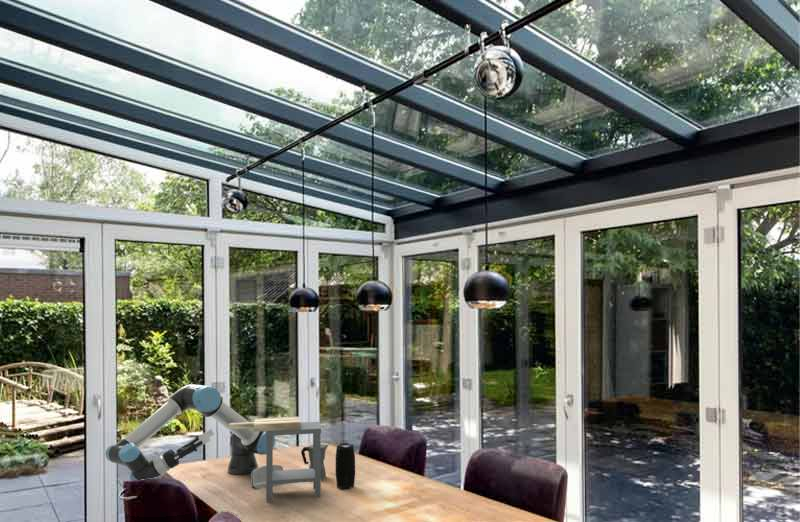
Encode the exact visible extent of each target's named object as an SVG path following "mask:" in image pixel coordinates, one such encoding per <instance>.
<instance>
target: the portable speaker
mask: <svg viewBox="0 0 800 522" xmlns="http://www.w3.org/2000/svg"><path fill="white" fill-rule="evenodd" d="M355 478H356V454H355V449H354V444H353V443H352V444H351V443H347V442H342V443H339V444H338V445H336V452H335V480H336V489H337V488H340V489H341V490H342V491H347V490H350V489H351V488H354V487H355Z"/></svg>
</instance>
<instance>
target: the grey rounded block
mask: <svg viewBox="0 0 800 522" xmlns="http://www.w3.org/2000/svg"><path fill="white" fill-rule="evenodd" d="M279 470H284V468H283V466H282V465H280V464H279V465H278V464H273V471H279ZM250 475H251V476H250V479H251V480H250V482H251V483H250V487H251V488H254V489H255V490H258V489H257V488H259V489H264V488H263V487H265V488H266V464H265V465H262V466H258V468H257V469H255V470H253V471H252V473H250ZM274 485H275V486H279V485H280V486H281V484H273V487H275V486H274Z"/></svg>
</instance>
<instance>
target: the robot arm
mask: <svg viewBox="0 0 800 522" xmlns="http://www.w3.org/2000/svg"><path fill="white" fill-rule="evenodd" d="M165 401H166V402H165V403H164V404H163V405H162V406H160V407H159V408H158V409H157V410H156V411H154V412H153V413H152V414H151V415H150V416H149V417H147V418H146V419H145V420H144V421H143V422H141V423H140V424H139V425H138V426H137V427H136V428H134V429H133V430H132V431H131V432H129V434H128V435H126V436H125V437H124V438H122V439H121V440H120V441H119V442H118V443H112V444H111V445H109V446H107V448H106V450H105V454H104V455H105V458H106V460H107V461H109V462H111V463H114V464H118V465H121V466H125V467H127V469H128V470H129V471H130V474H129V480H130V481H134V480H141V479H147V478H154V477H157V478H159V477H161V476H162V475H166V474H167V472H169V471H170V470H171V469H173V468H176V467H177V466H179V465H180V460H181V459H183V458H184V457H186V456H188V455H189V454H192V453H194V452H197V451H198V449H199V448H201V447H202V446H204V445H206V444H207V443H209V442H211V440H212V439H211V436H214V435H215V433H214V431H213V429H212V428H210V429H209V430H207V431H205V432H203V433H202V434H200V435H196V436H195V438H194V439H192V440H191V441H189V442H188V443H186V444H184V445H183V446H180V447H178V448H177V450H176V452H175V451H174V450H173V449H169V450H167V451H165V452H164V453H162V454H160V455H158V456H157V457H154V459H152V460H150V461H149V460H148V459H147V458H146V457H145V455H144V454H143V452H142V451H141V449H140V447H141V446H142V445H144V444H145V443H146V442H147V441H148V440H149V439H151V438H152V437H153V436H154V435H155V434H156V433H158V432H159V431H160V430H161V429H162V428H163V427H164V426H165V425H167V424H168V423H170V422H171V420H173V418H175V417H177V416H178V415H181V414H183V413H184V412H185V411H187V410H192V411H197V412H198V413H200V414H201V415H202V416H204V417H205V418H212V419H213V420H215V421H216V422H217V423H218V424H220V425H222V427H224V428H226V430H228V431H230V432H231V435H230V436H231V457H230V460H229V464H228V466H227V473H229V474H232V475H247V474H251V473H252V471H253V470H255V469H257V468H259V465H258V461H257V458H256V456H255V454H257V455H261V456H262V455H263V456H264V455H266V431H258V432H254V428H245V429H229V424H230V423H243V422H249V420H247V419H246V418H245V417H244V416H242V415H241V414H239V413H238V412H236V411H235V410H234V409H233V408H231V407H230V405H228V404H226V403H225V402H224V398H223V396H221V393H220V390H218V388H216V387H214V386H211V385H207V384H205V385H203V384H196V383H194V384H193V383H192V384H191V383H190V384H187V385H185V386H183V387H181V388H179V389H178V390H177V391H175V392H174V393H173V394H172V395H170V396H169V397H168V398H167V399H166V400H165ZM275 443H276V437H275V436H273V448H274V446H275Z"/></svg>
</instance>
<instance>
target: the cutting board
mask: <svg viewBox="0 0 800 522" xmlns="http://www.w3.org/2000/svg"><path fill="white" fill-rule="evenodd" d="M300 423H301V419H300V416H284V417H263V418H262V417H261V418H259V417H257V418H255V420H254V421H248V422H243V423H230V424H229V429H245V428H254V432H258V431H277V430H297V429H300Z"/></svg>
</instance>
